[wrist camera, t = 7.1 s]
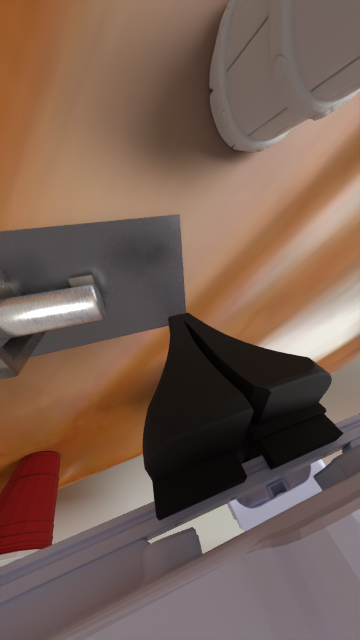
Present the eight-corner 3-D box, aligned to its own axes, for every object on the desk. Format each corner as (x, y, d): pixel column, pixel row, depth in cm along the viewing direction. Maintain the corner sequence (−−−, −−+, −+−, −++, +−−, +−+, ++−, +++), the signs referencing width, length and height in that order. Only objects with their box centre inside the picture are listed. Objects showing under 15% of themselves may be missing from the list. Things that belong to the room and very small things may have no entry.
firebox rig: (185, 319, 22) (203, 350, 17) (-111, 385, 16) (-218, 463, 11) (178, 214, 15) (204, 214, 10) (-329, 263, 10) (-844, 317, 4)
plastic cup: (11, 442, 25) (-60, 584, 15) (84, 443, 31) (66, 548, 21) (-10, 476, 28) (-80, 613, 18) (61, 471, 34) (35, 575, 24)
